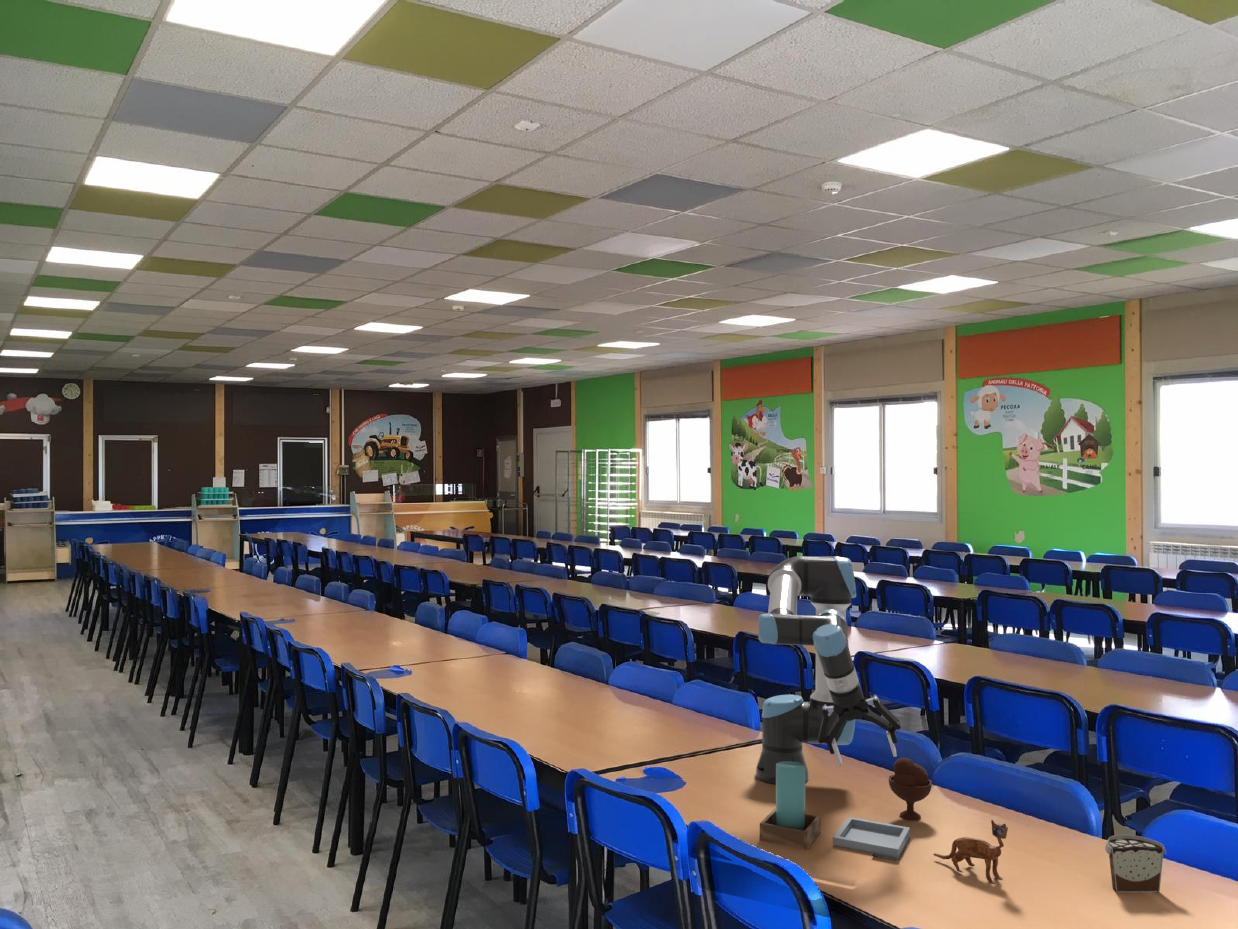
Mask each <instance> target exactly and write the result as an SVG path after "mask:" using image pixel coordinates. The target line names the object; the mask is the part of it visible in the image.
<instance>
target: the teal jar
mask: <svg viewBox="0 0 1238 929" xmlns="http://www.w3.org/2000/svg"><path fill="white" fill-rule="evenodd" d="M775 808H776V825H777V826H783V827H788V828H793V829H799V830H804V831H805V814H806V782H805V765H804V764H802V763H799V762H793V761H783V762H778V763H777V764H776V784H775Z"/></svg>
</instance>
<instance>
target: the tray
mask: <svg viewBox="0 0 1238 929" xmlns="http://www.w3.org/2000/svg"><path fill="white" fill-rule="evenodd" d="M910 839H911V827H908V826H902V825H896V824H890V823H885V822H880V821H874V820H869V819H863V818H857V817H851V816H847V818H846V819H845V820H844V822H843V823H842V825H841V826H840V827H839V828H838V829H837V831H836V832H835V833H834V835H833V836H832V846H834V847H840V848H844V849H849V850H855V851H860V852H865V853H870V854H872V856H874V857H878V856H879V858H884V859H890V860H893V859H894V860H895V861H899V860H900V857H901V856H900V855H902V854H903V852H904V850H905V848H906V847H907V844H908V843H909V841H910Z"/></svg>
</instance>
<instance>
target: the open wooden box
mask: <svg viewBox="0 0 1238 929" xmlns="http://www.w3.org/2000/svg"><path fill="white" fill-rule="evenodd" d="M820 834H821V816H820V815H814V814H809V813H805V831H804V830H799V829H793V828H788V827H783V826H777V825H776V807H775V808H774V809H773V810H771V812H769V814H767V815H766V817H764V818H763V820H761V821H760V822H759V841H763V842H768V843H773V844H778V845H782V846H787V847H793V848H798V849H803V850H808V849H809V848H810V847H811V845H812V844H813V843H814V841H815V840H816V839H817V838H818V837H819V835H820Z"/></svg>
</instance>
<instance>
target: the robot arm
mask: <svg viewBox="0 0 1238 929" xmlns="http://www.w3.org/2000/svg"><path fill="white" fill-rule="evenodd" d="M856 588H857V586H856V580H855V572H854V567H853V562H852V560H851V559H850V558H848V557H843V556H842V557H841V556H811V555H810V556H809V555H808V556H805V555H799V556H793V557H789V558H787V559H784V560H783V561H781V562H780V563H778V564H777V565H776V566H775V567H774V568H773V569H772V570H771V571H770V573H769V575H768V579H767V589H768V592H769V600H768V602H769V603H768V610H767V611H768V612H767V613H761V614H760V615H759V616H758V624H757V627H758V629H757V630H758V631H757V633H758V640H759V642H760V643H762V644H770V645H788V646H789V645H790V646H791V645H794V646H813V647H814V649H815V689H814V691H813V692H812V693H811V694H810V697H809V701H804V699H803V697H802V696H801V695H798V694H780V695H774V696H771V697H769V698H767V699H765V700H764V702H763V703H762V713H761V718H762V732H761V733H762V734H761V735H762V736H761V737H762V738H761V739H762V742H761V743H762V744H761V745H762V746H761V748H762V749H761V752H760V755H759V758H758V761H757V764H756V768H755V777H756V778H757V779H759V780H760V781H763V782H765V783H769V784H773V785H776V764H777V763H778V762H783V761H793V762H799V763H802V764H804V765H805V783H806V782H807V781H808V780H809V768H808V765H807V762H806V759H805V756H804V753H803V744H805V743H806V744H817V745H818V744H820V745H827V747H828V750H829V753H830V754H831V755H835V758H836V761H837V764H838V767H843V760H842V756H841V753H840V750H839V746H849V745H850V744H851V743H852V742H853V739H854V733H855V725H856V720H861V719H862V718H863V719H865V720H866V721H869V722H871V723H873V724H875V725H877V726H878V727H879V728H881V729H883V730H884V731H886V737H887V739H888V743H889V745H890V750H891V754H892V756H893V757H894V758H895V757H898V756H897V749H896V746H895V744H898V737H897V735H896V731H897V730H898V731H900V730H901V729H902V728H901V727H902V726H901V722H900V720H899V719H898V718H897V717H896V716H895V715H894V714H893V713H892V712H891V711H890V710H889V709H888V708H887V707H886V706H885V705H884V704H883V703H882V702H881V700H880V698H879V697H878V694H873V695H872V697H870V698H866V697H865V696H864V693H863V688H862V687H861V683H860V681H859V677H858V674H857V670H856V667H855V664H854V662H853V659H852V654H851V651H850V646H849V639H848V638H849V635H848V631H849V629H848V625H847V614H846V613H847V608H849V607H850V606H851V605H852V599H855V598H856V597H857V589H856ZM799 596H801V597H802V596H803V597H810V603H811V605H812V606H813V607H814V608H815V615H811V614H810V615H809V614H805V615H804V614H798V613H797V612H798V597H799ZM869 705H870V706H871V707H873V708H875V709H876V711H878V712H879V714H881V716H880V715H878V713H875V712H874V711H872V710H871V708H869ZM882 716H883V717H882Z"/></svg>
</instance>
